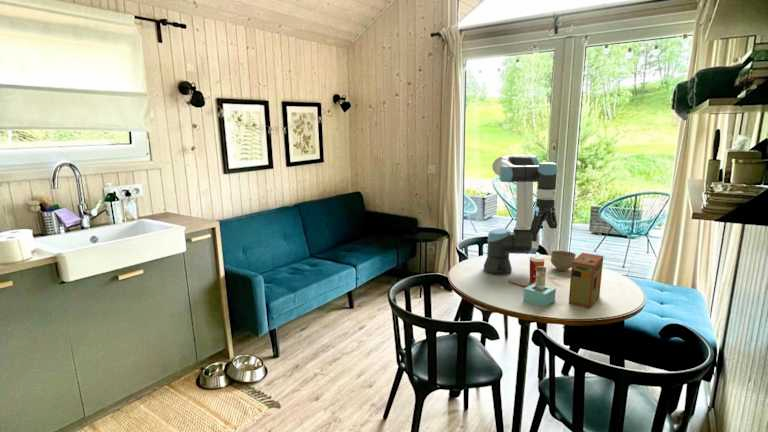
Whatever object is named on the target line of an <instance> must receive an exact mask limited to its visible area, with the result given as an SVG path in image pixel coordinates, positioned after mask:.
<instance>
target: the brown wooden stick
mask: <svg viewBox="0 0 768 432" xmlns="http://www.w3.org/2000/svg"><path fill="white" fill-rule="evenodd" d="M507 282H508V283H509V284H513V285H515V286H519V287H522V288H526V287H528V286H529V285H526V284H522V283H519V282H514V281H511V280H508V281H507Z"/></svg>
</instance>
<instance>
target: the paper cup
mask: <svg viewBox="0 0 768 432" xmlns="http://www.w3.org/2000/svg"><path fill="white" fill-rule="evenodd" d="M528 259H529V284H530V285H532V284H534V283H536V267H537V266H543V267H545V261H546V259H545V257H544V256H542V255H539V254H538V255H537V254H536V255H535V254H531V255H530V256H529V258H528Z"/></svg>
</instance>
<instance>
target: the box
mask: <svg viewBox="0 0 768 432" xmlns="http://www.w3.org/2000/svg"><path fill="white" fill-rule="evenodd" d="M603 264H604V255H600V254H593V253H587V252H581V253H579V255H578V256H577V257H575V260H573V261H572V267H571V268H570V269H571V270H570V283H569V295H568V305H571V306H575V307H579V308H583V309H586V310H587V309H588V310H591V309H592V308H593V306H594V305H595V303H597V301H598V299H599V298H600V294H601V285H602V283H601V282H602V274H603Z"/></svg>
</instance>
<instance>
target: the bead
mask: <svg viewBox="0 0 768 432" xmlns="http://www.w3.org/2000/svg"><path fill="white" fill-rule="evenodd" d="M535 285H536V283H534V284H529V285H527V286H528V287H523V301H524V302H527V303H529V304H530V303H531V304H532V305H535V306H539V307H543V308H545V307H547V306H549V305H550V304H552V303H554V302H555V301H556V290H557V289H556V287H552V286H549V285H545V291H543V292H542V291H538V290H535Z"/></svg>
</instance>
